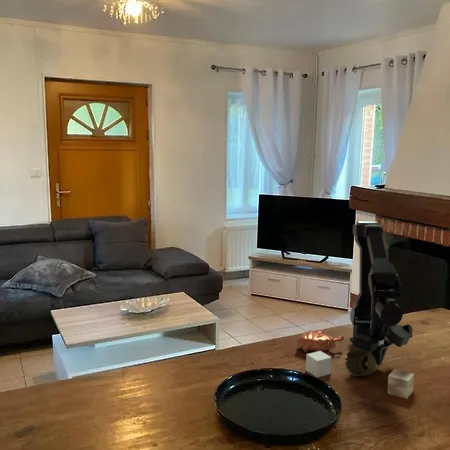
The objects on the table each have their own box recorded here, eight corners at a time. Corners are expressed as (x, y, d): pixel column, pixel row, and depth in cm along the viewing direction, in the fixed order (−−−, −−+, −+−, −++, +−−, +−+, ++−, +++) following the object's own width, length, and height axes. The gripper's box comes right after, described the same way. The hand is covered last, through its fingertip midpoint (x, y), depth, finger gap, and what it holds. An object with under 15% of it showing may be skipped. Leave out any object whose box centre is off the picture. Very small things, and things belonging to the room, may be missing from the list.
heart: (305, 340, 149) (350, 336, 153) (289, 329, 160) (331, 325, 164) (305, 360, 149) (349, 355, 153) (289, 347, 161) (330, 343, 165)
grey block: (305, 370, 143) (306, 354, 142) (319, 367, 145) (320, 350, 144) (316, 377, 138) (317, 360, 137) (331, 374, 141) (331, 357, 140)
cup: (363, 380, 143) (347, 378, 138) (358, 354, 146) (342, 351, 141) (386, 375, 138) (370, 373, 133) (380, 348, 142) (365, 345, 137)
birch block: (387, 393, 130) (388, 375, 129) (393, 386, 134) (394, 368, 133) (406, 399, 127) (408, 381, 126) (412, 391, 131) (414, 373, 130)
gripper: (387, 328, 129) (383, 384, 132) (425, 313, 141) (421, 365, 143) (352, 316, 138) (349, 369, 140) (390, 303, 149) (387, 352, 152)
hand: (378, 364), depth 144 cm, fingers closed
